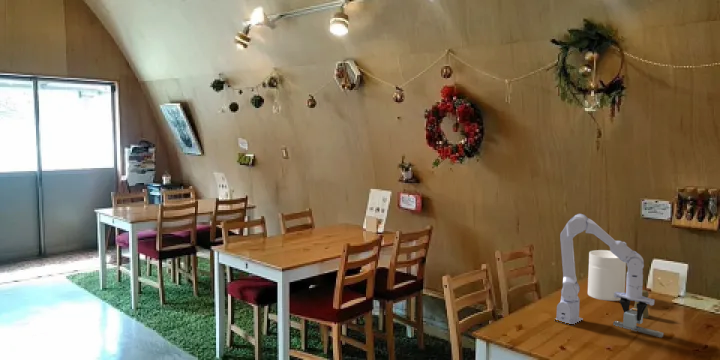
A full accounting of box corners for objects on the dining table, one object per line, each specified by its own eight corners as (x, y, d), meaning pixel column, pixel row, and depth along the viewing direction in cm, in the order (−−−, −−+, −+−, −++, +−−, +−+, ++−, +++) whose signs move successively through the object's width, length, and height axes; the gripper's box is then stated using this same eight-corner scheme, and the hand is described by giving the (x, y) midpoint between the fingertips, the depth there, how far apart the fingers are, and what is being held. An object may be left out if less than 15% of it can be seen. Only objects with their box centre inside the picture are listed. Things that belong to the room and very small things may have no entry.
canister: (580, 292, 268) (581, 251, 266) (607, 289, 273) (609, 249, 271) (604, 302, 253) (605, 259, 251) (632, 298, 258) (634, 256, 256)
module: (633, 328, 215) (634, 314, 214) (623, 325, 218) (623, 312, 217) (642, 322, 221) (643, 309, 220) (632, 320, 224) (632, 307, 223)
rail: (661, 337, 211) (661, 333, 211) (613, 325, 224) (613, 321, 224) (663, 336, 212) (663, 332, 212) (615, 324, 225) (615, 320, 225)
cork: (632, 316, 234) (633, 291, 233) (632, 312, 239) (634, 287, 238) (648, 318, 231) (649, 293, 230) (648, 314, 236) (649, 289, 235)
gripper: (657, 286, 215) (656, 320, 216) (619, 279, 226) (618, 311, 227) (651, 290, 210) (649, 325, 212) (612, 282, 221) (611, 316, 222)
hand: (632, 318), depth 219 cm, fingers closed on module, 4 cm apart
